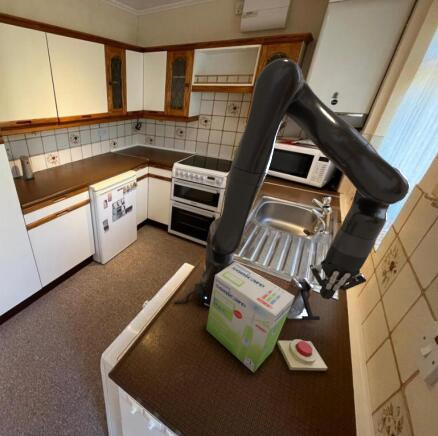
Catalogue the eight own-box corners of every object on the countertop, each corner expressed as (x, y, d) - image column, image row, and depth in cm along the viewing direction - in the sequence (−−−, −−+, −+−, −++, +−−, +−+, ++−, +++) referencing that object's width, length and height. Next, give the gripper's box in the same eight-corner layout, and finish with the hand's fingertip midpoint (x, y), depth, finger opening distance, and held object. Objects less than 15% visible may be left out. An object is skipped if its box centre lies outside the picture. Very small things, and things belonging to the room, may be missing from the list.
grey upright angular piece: (310, 320, 82) (324, 294, 75) (287, 320, 82) (299, 293, 75) (294, 298, 90) (306, 272, 84) (273, 297, 90) (283, 272, 84)
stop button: (300, 356, 67) (302, 352, 66) (293, 344, 70) (295, 340, 69) (313, 356, 67) (315, 353, 66) (305, 344, 70) (307, 341, 69)
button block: (289, 371, 67) (293, 363, 65) (275, 344, 74) (279, 336, 72) (324, 372, 67) (330, 364, 65) (308, 345, 74) (312, 337, 72)
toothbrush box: (203, 329, 78) (214, 273, 66) (223, 314, 84) (237, 259, 72) (252, 375, 66) (276, 316, 54) (271, 353, 71) (297, 295, 60)
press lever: (317, 320, 76) (321, 319, 74) (301, 320, 76) (305, 319, 74) (305, 283, 82) (309, 281, 80) (290, 283, 82) (294, 281, 80)
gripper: (374, 243, 61) (345, 292, 69) (315, 234, 64) (295, 282, 72) (391, 261, 55) (357, 312, 63) (325, 250, 58) (302, 301, 66)
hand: (324, 296), depth 68 cm, fingers closed
